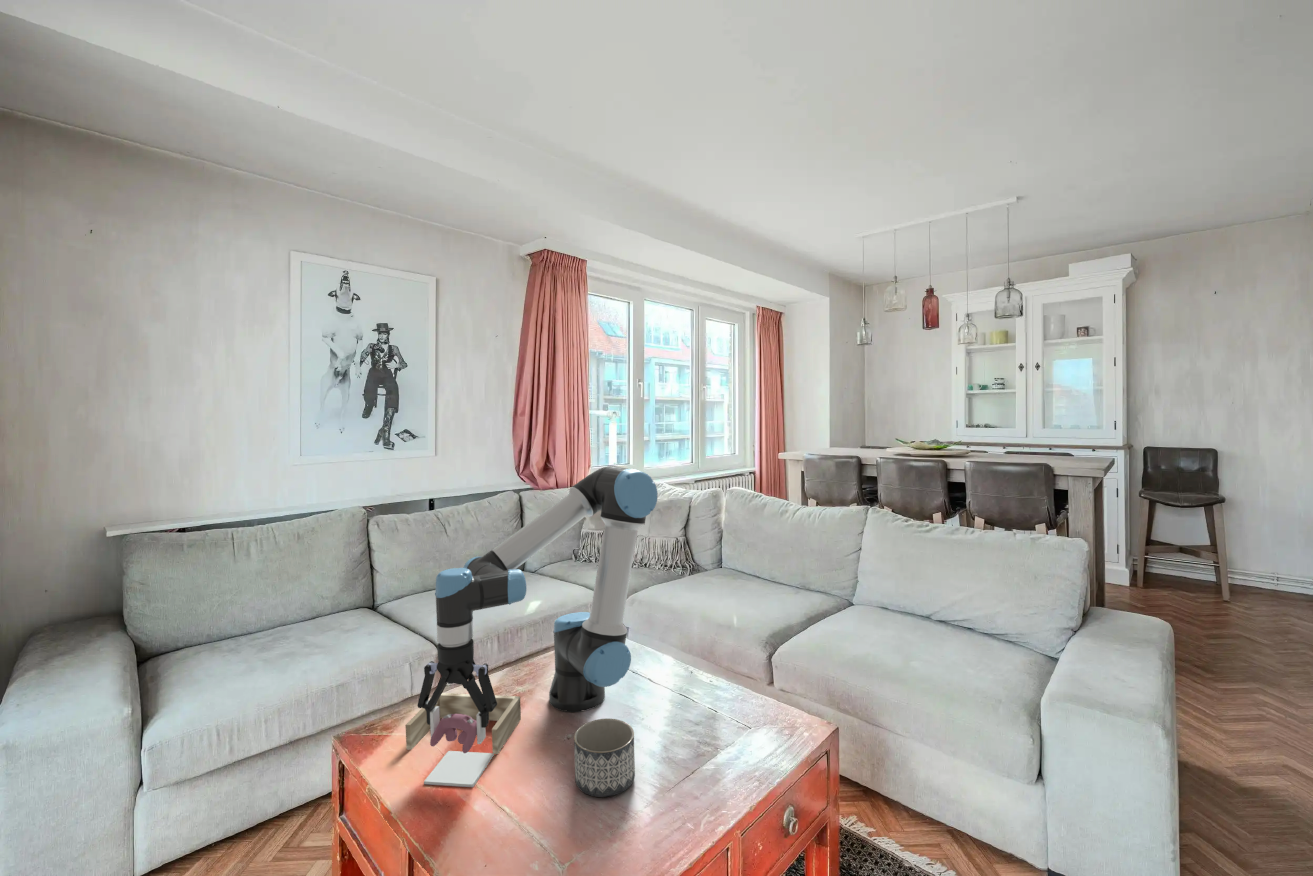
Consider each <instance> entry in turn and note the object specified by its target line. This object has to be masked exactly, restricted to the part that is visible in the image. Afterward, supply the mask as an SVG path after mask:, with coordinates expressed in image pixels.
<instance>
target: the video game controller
mask: <svg viewBox="0 0 1313 876" xmlns="http://www.w3.org/2000/svg"><path fill="white" fill-rule="evenodd" d="M457 730H460V731H461V732H460V733H458V731H457ZM458 734H459V735H458ZM444 736H445V739H446V741H447V742H455V741H456V740H457V742H458V744H459V745H462V751H461V752H463V753H467V752H470V750H471V749H472V747H473V745H474V743H475V741H476V739H477V720H475V719H473V718H471V717H470V716H468V715H464V714H449V715H446V716H444V718H440V722H439V724H438V726H437V728H436V729H435V731H434V733H433V735H432V737H431V736H430V740H429V743H430V746H431V747H435V746H437V745H438V744H439V742H440V741H441V740H442V738H443V737H444Z"/></svg>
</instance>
